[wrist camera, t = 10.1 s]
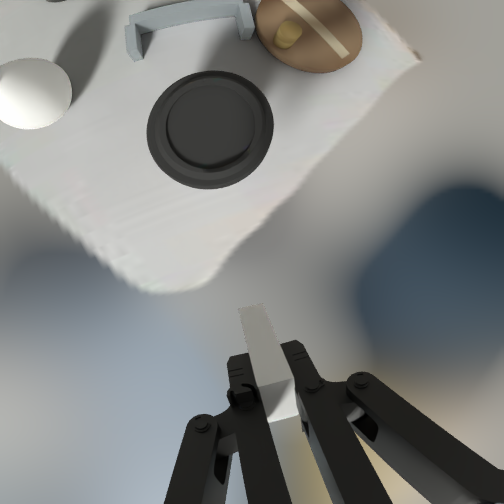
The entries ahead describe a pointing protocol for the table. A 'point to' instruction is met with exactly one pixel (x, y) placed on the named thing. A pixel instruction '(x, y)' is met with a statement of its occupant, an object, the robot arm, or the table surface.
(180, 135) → the coffee cup
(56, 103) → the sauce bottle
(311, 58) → the disc
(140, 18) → the pocket stop
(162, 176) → the table surface
